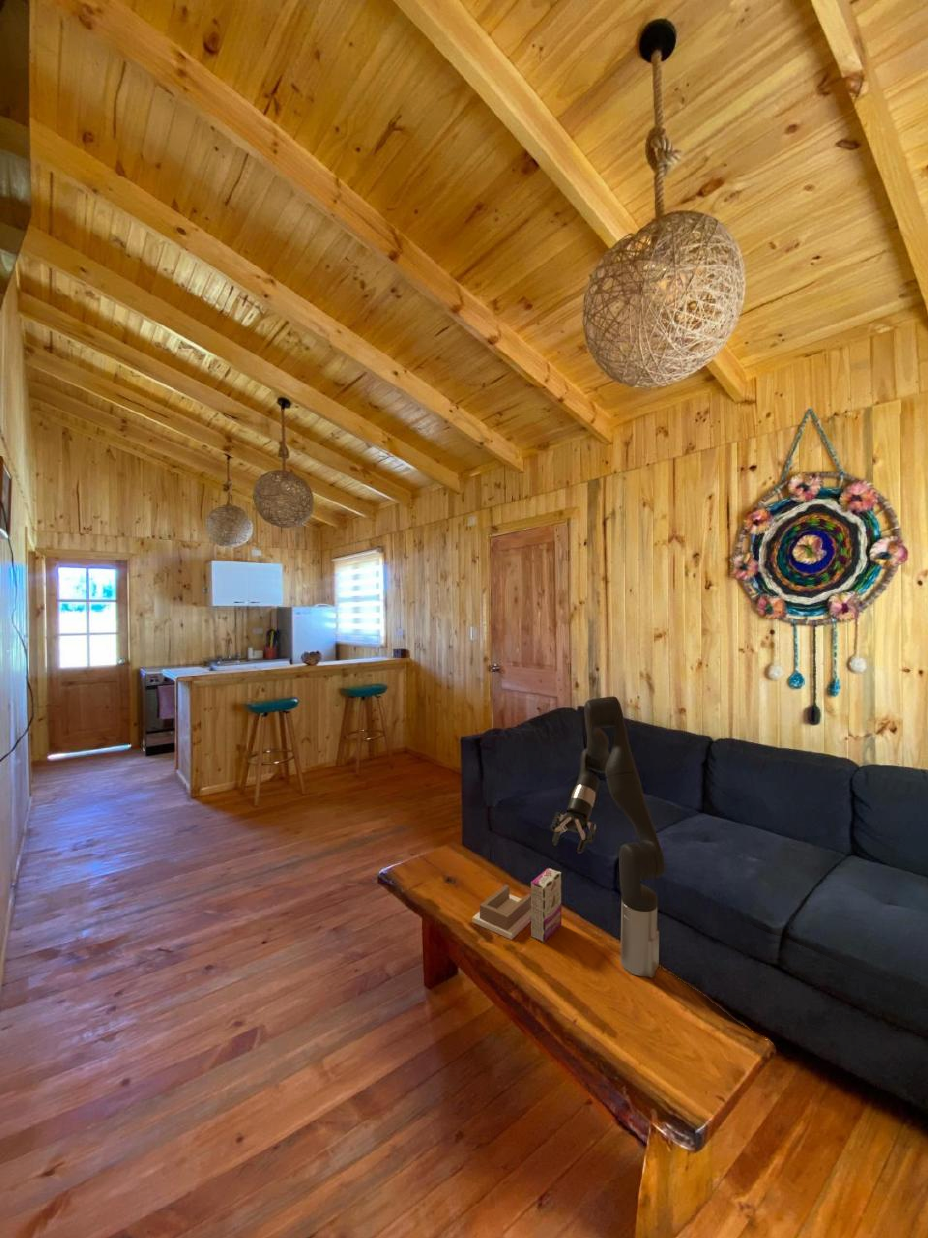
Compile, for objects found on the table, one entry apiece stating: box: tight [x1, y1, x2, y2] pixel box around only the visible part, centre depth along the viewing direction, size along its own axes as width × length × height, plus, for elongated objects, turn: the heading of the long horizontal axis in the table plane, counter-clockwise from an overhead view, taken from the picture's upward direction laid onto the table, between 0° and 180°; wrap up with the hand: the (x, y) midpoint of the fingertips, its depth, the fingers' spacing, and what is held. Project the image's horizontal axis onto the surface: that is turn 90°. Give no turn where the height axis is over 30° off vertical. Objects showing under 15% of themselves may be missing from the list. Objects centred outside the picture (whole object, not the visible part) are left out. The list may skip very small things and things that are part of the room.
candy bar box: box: [530, 867, 562, 943], centre depth 154 cm, size 11×5×16 cm, turn 143°
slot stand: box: [471, 884, 531, 941], centre depth 161 cm, size 14×18×6 cm
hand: (566, 848), depth 165 cm, fingers open, 8 cm apart
